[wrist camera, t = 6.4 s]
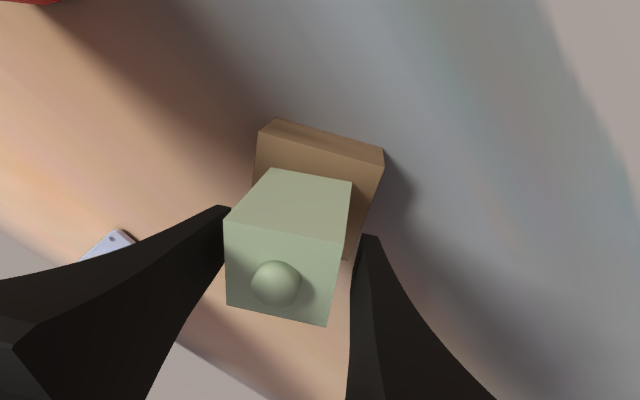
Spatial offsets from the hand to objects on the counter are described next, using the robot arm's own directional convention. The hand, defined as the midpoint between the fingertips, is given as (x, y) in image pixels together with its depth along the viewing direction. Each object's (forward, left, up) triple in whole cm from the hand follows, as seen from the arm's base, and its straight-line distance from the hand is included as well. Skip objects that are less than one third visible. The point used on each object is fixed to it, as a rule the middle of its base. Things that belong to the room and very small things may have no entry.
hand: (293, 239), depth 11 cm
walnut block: (0, 0, -6) cm, 6 cm away
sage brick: (0, 0, -3) cm, 3 cm away
